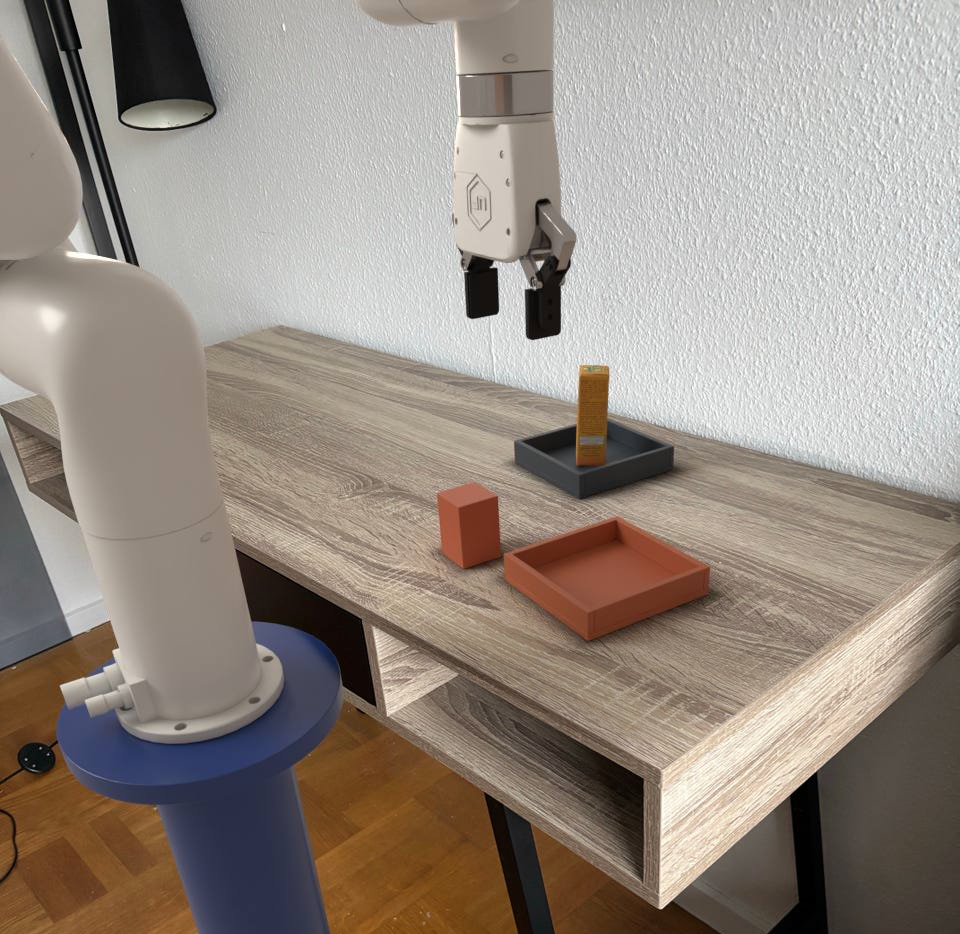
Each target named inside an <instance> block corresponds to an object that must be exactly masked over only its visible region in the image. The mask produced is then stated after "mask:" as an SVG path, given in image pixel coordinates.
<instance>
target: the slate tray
mask: <svg viewBox="0 0 960 934" xmlns="http://www.w3.org/2000/svg"><path fill="white" fill-rule="evenodd" d="M576 435H577V423H574V424H571V425H567V426H563V427H560V428H556V429H552V430H549V431H545V432H541V433H538V434H534V435H529V436H526V437H523V438H520V439H516V440H514V441H513V450H514V451H513V453H514V464H515V465H518V466H520V467H521V468H523V469H524V470H527V471H529V472H530V473H532V474H534V475H535V476H538V477H539V478H541V479H543V480H544V481H546V482H548V483H550V484H552V485H554V486H556V487H557V488H559V489H561V490H563V491H565V492H566V493H568V494H569V495H572V496H574V497H575V498H577V499H578V500H579V499H583V498H587V497H590V496H593V495H596V494H599V493H603V492H605V491H610V490H612V489H616V488H618V487H622V486H625V485H628V484H631V483H634V482H637V481H641V480H645V479H647V478H650V477H653V476H657V475H660V474H663V473H666V472H670V471H673V470H674V462H675V461H674V460H675V459H674V458H675V446H674V445H672V444H670V443H667V442H665V441H662V440H661V439H658V438H655V437H654V436H650V435H648V434H646V433H644V432H642V431H639V430H637V429H636V428H635V429H634V428H633V427H630V426H627V425H626V424H623V423H620V422H618V421H616V420H614V419H612V418H609V417H607V440H606V465H602V466H590V467H585V466H577V464H576Z"/></svg>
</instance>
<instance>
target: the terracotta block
mask: <svg viewBox="0 0 960 934" xmlns="http://www.w3.org/2000/svg"><path fill="white" fill-rule="evenodd" d="M436 500H437V508H438V509H437V511H438V521H439V522H438V523H439V532H440V543H441V544H440V545H441V553H442V554H443V555H444V556H446V557H447V558H448V559H449V560H451V561H452V562H453V563H455V564H456V565H457V566H458V567H460V568H461V569H463V570H465V569H468V568H471V567H474V566H478V565H480V564H483V563H486V562H489V561H492V560H495V559H499V558H501V557H502V546H501V545H502V544H501V528H500V527H501V526H500V525H501V524H500V511H499V510H500V509H499V508H500V507H499V496H498V495H497V494H496V493H495V492H492V491H491V490H489V489H488V488H486V487H484V486H483V485H481V484H480V483H478V482H476V481H473V482H469V483H467V484H463V485H459V486H456V487H453V488H449V489H445V490H442V491H439V492H437V493H436Z"/></svg>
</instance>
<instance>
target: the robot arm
mask: <svg viewBox="0 0 960 934" xmlns="http://www.w3.org/2000/svg"><path fill="white" fill-rule="evenodd" d="M353 1H354V2H355V4H356V5H357V6H358V7H359V8H360V9H361V10H362V11H363V12H364V13H365V14H366V15H367V16H369V17H370V18H371V19H373V20H376V21H377V22H379V23H382V24H385V25H388V26H392V27H400V28H410V27H423V26H433V25H438V24H446V23H453V34H454V35H453V37H454V38H453V39H454V58H455V59H454V60H455V75H456V76H455V80H456V81H455V83H456V98H457V99H456V100H457V101H456V102H457V115H458V118H457V120H458V122H457V126H456V132H455V142H454V157H453V161H454V162H453V212H452V213H451V221H452V222H451V223H452V226H453V230H454V241H455V245H456V247H457V249H458V251H459V254H460V255H461V257H460V268H461V270H462V271H463V272H464V273H463V279H464V296H465V297H464V298H465V315H466V317H467V318H468V319H470V320H476V319H477V320H478V319H482V318H486V317H492V316H496V315H498V314H499V313H500V293H499V291H500V290H499V289H500V288H499V268H498V267H493V266H494V263H495V262H499V263H503V264H513V263H515V262H517V261H518V260H519V263H520V265H521V268H522V270H523V273H524V275H525V277H526V279H527V282H528V286H529V287H530V288H525V289H524V318H525V319H524V320H525V323H524V324H525V337H526V339H528V340H529V341H536V340H541V339H546V338H550V337H555V336H560V334H561V332H562V286H564V285H565V284H566V280H567V279H566V275H567V273H568V271H569V270H570V269H571V266H572V260H571V259H572V257H573V253H574V250H575V246H576V243H577V238H578V237H577V234H576V231H575V230H574V229H573V228H572V227H571V226H570V225H569V223H568V222H567V221H566V220H565V219H564V218H563V216H562V191H561V189H562V187H561V173H560V160H559V150H558V142H557V134H556V128H555V70H554V68H555V57H554V55H555V53H554V52H555V51H554V50H555V47H554V46H555V41H554V38H555V35H554V33H555V31H554V30H555V29H554V25H555V23H554V21H555V19H554V18H555V17H554V12H555V11H554V4H555V3H554V0H353ZM80 172H81V171H80V169H79V166H78V163H77V160H76V157H75V155H74V153H73V151H72V148H71V146H70V144H69V143H68V141H67V138H66V136H65V135H64V133H63V131H62V130H61V127H59V125H58V123H57V122H56V120H55V119H54V117H53V115H52V114H51V112H50V111H49V109H48V107H47V106H46V105H45V103H44V101H43V100H42V98H41V97H40V96H39V94H38V92H37V91H36V89H35V87H34V86H33V84H32V82H31V81H30V79H29V78H28V76H27V74H26V73H25V72H24V70H23V68H22V67H21V64H19V62H18V60H17V58H16V56H14V54H13V52H12V51H11V49H10V48H9V45H8V44H7V42H6V41H5V39H4V37H3V36H2V35H1V34H0V374H1V375H2V376H3V377H4V378H5V379H7V380H9V381H11V382H12V383H14V384H15V385H17V386H19V387H21V388H23V389H25V390H27V391H29V392H31V393H34V394H36V395H37V396H38V395H39V396H41V397H42V398H44V399H46V400H48V401H49V402H51V404H52V406H53V408H54V411H55V414H56V417H57V422H58V428H59V436H60V438H59V439H60V448H61V457H62V465H63V471H64V477H65V480H66V485H67V489H68V491H69V492H68V493H69V497H70V500H71V503H72V507H73V510H74V513H75V516H76V519H77V523H78V526H79V528H80V529H81V532H82V536H83V539H84V543H85V545H86V548H87V549H86V550H87V552H88V555H89V557H90V561H91V564H92V568H93V571H94V574H95V577H96V580H97V583H98V586H99V589H100V593H101V596H102V599H103V602H104V606H105V608H106V612H107V615H108V618H109V621H110V624H111V627H112V630H113V633H114V637H115V641H116V643H117V645H118V648H115V649H113V650H112V651H111V652H112V654H113V657H114V658H115V661H116V663H114V664H113V665H110V666H107V667H104V668H103V670H104V672H103V673H100V674H97V675H94V676H91V677H88V678H86V677H81V678H78V679H75V680H72V681H69V682H65V683H63V684H60V685H59V688H60V690H61V693H62V696H63V698H64V702H66V704H67V707H68V709H69V710H71V709H74V708H77V707H80V706H83V705H86V706H87V708H88V711H89V714H90V716H91V718H93V717H96V716H99V715H102V714H105V713H108V712H109V711H111V710H114V709H115V711H116V714H117V718H118V720H119V722H120V723H121V725H122V727H123V728H124V729H125V730H127V731H128V732H129V733H130V734H132V735H134V736H136V737H138V738H140V739H144V740H147V741H151V742H156V743H165V744H186V743H193V742H200V741H205V740H209V739H213V738H217V737H220V736H223V735H226V734H228V733H231V732H234V731H236V730H238V729H240V728H242V727H244V726H246V725H248V724H250V723H251V722H253V721H254V720H256V719H257V718H259V717H260V716H262V715H263V714H264V713H265V712H266V711H267V710H268V709H269V708H270V707H272V706H273V704H274V703H275V702H276V700H277V699H278V698H279V696H280V694H281V692H282V689H283V686H284V674H283V668H282V665H281V662H280V660H279V658H278V657H277V656H276V655H275V654H274V653H273V652H272V651H271V650H269V649H267V648H266V647H264V646H262V645H259V644H256V641H255V636H254V632H253V627H252V623H251V621H252V619H251V618H252V617H251V614H250V609H249V606H248V602H247V597H246V592H245V588H244V583H243V579H242V574H241V569H240V565H239V561H238V556H237V551H236V547H235V543H234V538H233V533H232V530H231V529H232V528H231V525H230V520H229V516H228V511H227V507H226V504H225V503H226V502H225V498H224V495H223V491H222V487H221V483H220V478H219V472H218V468H217V463H216V457H215V454H214V448H213V447H214V446H213V442H212V435H211V429H210V428H211V427H210V420H209V408H208V380H207V379H208V377H207V375H208V374H207V362H206V360H207V359H206V354H205V347H204V342H203V338H202V335H201V332H200V329H199V325H198V324H197V322H196V319H195V317H194V315H193V313H192V312H191V310H190V309H189V307H188V306H187V304H186V303H185V302H184V300H183V299H182V298H181V296H180V295H179V294H178V293H177V292H176V291H175V290H174V289H173V288H172V287H170V286H169V285H168V284H167V283H166V282H165V281H163V280H162V279H161V278H159V277H158V276H156V274H153V273H151V272H149V271H147V270H146V269H144V268H142V267H140V266H137V265H135V264H131V263H129V262H126V261H123V260H119V259H114V258H109V257H106V256H100V255H96V254H91V253H84V252H79V251H78V249H77V248H76V247H75V245H74V244H73V242H72V241H71V239H70V235H72V233H73V231H74V230H75V229H76V226H77V224H78V222H79V219H80V215H81V211H82V208H83V207H82V206H83V197H84V191H83V182H82V176H81V173H80ZM537 262H543V263H542V265H541V267H540V268H539V267H538V264H537Z"/></svg>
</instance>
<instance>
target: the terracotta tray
mask: <svg viewBox="0 0 960 934" xmlns="http://www.w3.org/2000/svg"><path fill="white" fill-rule="evenodd" d="M503 567H504V568H503V570H504V581H506V582H507V583H508V584H510V585H511V586H513V587H514V588H515V589H517V590H518V591H519V592H520V593H522V594H523V595H524V596H526V597H527V598H528V599H530V600H531V601H532V602H534V603H535V604H537V605H538V606H539V607H541V608H542V609H543V610H545V611H546V612H547V613H549V614H550V615H552V616H553V617H554V618H555V619H557V620H558V621H560V622H561V623H562V624H564V625H565V626H566V627H568V628H569V629H570V630H572V631H573V632H575V633H576V634H577V635H578V636H580V637H582V638H583V639H584V640H586V641H587V642H590V641H593V640H595V639H598V638H600V637H603V636H605V635H608V634H610V633H613V632H615V631H618V630H620V629H623V628H625V627H629V626H630V625H633V624H636V623H638V622H641V621H644V620H646V619H649V618H651V617H653V616H657V615H659V614H662V613H664V612H667V611H670V610H671V609H675V608H677V607H679V606H682V605H684V604H687V603H690V602H692V601H694V600H698V599H700V598H702V597H705V596H707V595H709V588H710V576H711V566H710V565H708V564H706V563H704V562H703V561H700V560H699V559H697V558H695V557H693V556H691V555H689V554H687V553H686V552H684V551H682V550H680V549H678V548H677V547H675V546H673V545H671V544H669V543H668V542H665V541H664V540H662V539H661V538H659V537H656V536H655V535H654V534H651V533H650V532H648V531H646V530H644V529H642V528H640V527H638V526H637V525H635V524H633V523H631V522H630V521H627V520H626V519H624V518H622V517H620V516H618V515H616V516H613V517H610V518H608V519H605V520H601V521H598V522H595V523H592V524H589V525H587V526H582V527H579V528H577V529H574V530H571V531H568V532H565V533H561V534H559V535H555V536H553V537H550V538H547V539H544V540H541V541H537V542H535V543H534V542H533V543H532V544H529V545H526V546H523V547H519V548H517V549H513V550H511V551H509V552H505V553H503Z"/></svg>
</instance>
